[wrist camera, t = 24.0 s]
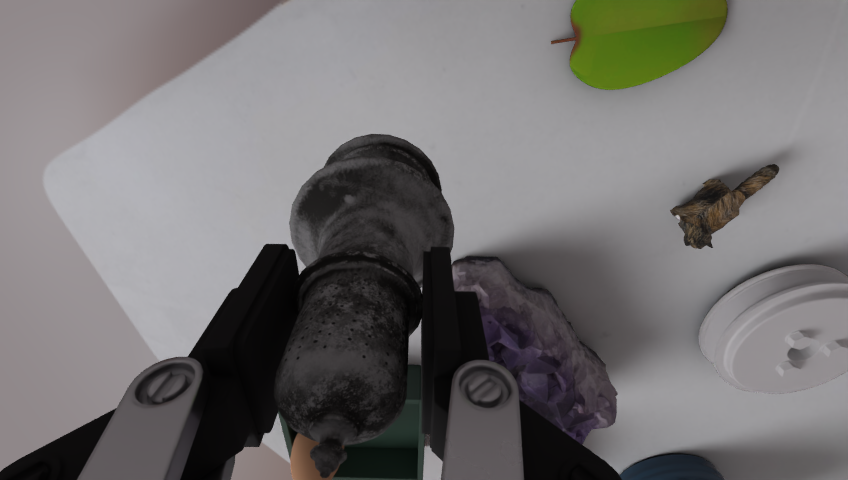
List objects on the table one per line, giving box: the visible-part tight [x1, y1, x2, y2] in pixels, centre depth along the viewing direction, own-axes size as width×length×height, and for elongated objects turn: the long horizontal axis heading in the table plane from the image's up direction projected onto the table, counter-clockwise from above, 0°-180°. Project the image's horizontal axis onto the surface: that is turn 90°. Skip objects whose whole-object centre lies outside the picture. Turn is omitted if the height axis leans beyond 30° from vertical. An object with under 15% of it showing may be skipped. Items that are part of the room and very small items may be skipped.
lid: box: [699, 264, 848, 394], centre depth 34 cm, size 13×13×5 cm
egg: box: [290, 433, 344, 480], centre depth 41 cm, size 5×5×8 cm
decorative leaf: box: [551, 0, 728, 90], centre depth 24 cm, size 8×9×1 cm
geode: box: [452, 256, 618, 444], centre depth 34 cm, size 20×12×10 cm, turn 38°
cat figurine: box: [670, 164, 779, 249], centre depth 29 cm, size 3×8×4 cm, turn 131°
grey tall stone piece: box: [273, 134, 454, 478], centre depth 12 cm, size 6×6×12 cm
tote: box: [278, 365, 425, 480], centre depth 42 cm, size 14×14×4 cm
